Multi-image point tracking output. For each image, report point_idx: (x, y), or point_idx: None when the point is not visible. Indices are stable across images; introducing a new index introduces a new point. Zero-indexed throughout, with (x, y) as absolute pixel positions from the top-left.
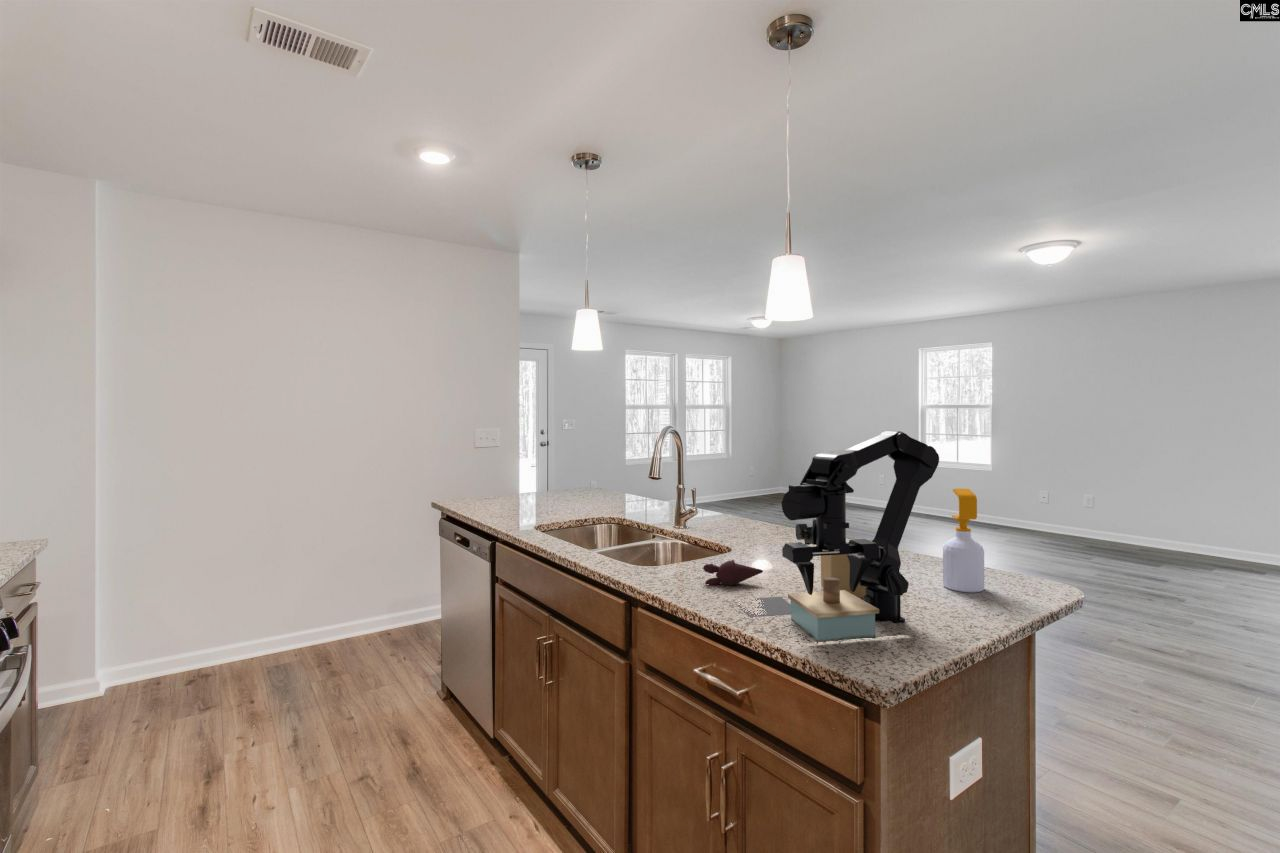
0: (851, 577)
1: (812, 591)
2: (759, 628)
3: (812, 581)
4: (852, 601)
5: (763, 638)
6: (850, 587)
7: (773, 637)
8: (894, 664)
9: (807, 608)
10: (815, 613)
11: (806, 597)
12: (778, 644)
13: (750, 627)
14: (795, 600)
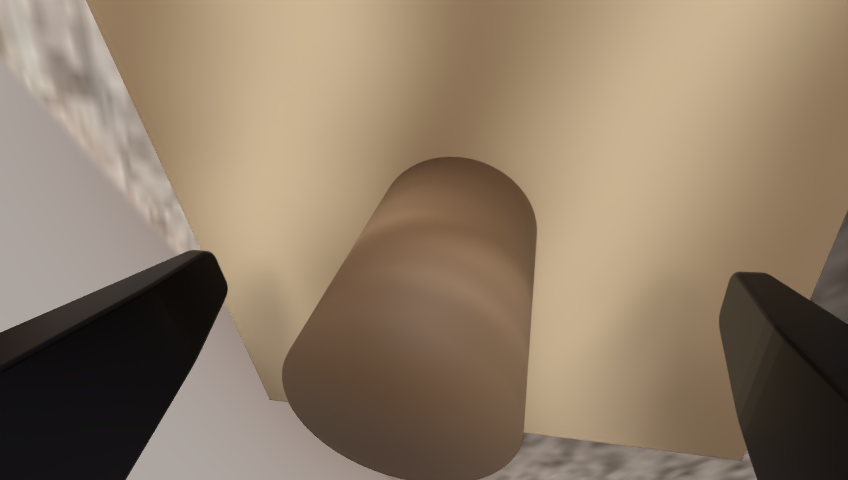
0: (827, 457)
1: (210, 327)
2: (68, 31)
3: (129, 455)
4: (664, 278)
5: (113, 175)
6: (743, 309)
7: (155, 172)
8: (555, 468)
9: (230, 304)
10: (266, 389)
11: (240, 69)
12: (181, 247)
13: (16, 5)
14: (145, 105)
